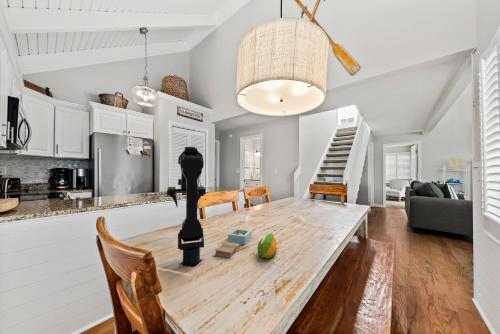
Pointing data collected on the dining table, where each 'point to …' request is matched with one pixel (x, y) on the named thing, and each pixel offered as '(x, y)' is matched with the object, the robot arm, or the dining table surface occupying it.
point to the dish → (240, 236)
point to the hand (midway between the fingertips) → (186, 206)
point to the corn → (267, 246)
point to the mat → (222, 257)
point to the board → (227, 249)
